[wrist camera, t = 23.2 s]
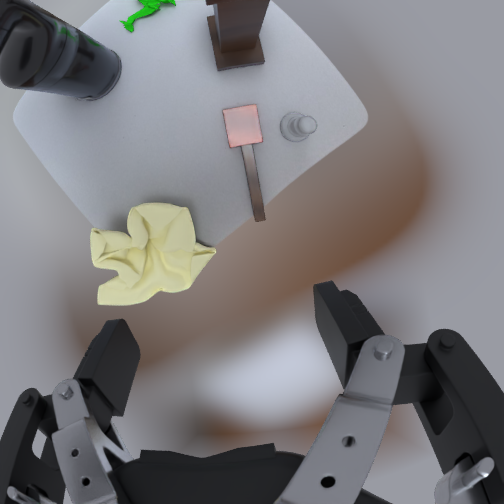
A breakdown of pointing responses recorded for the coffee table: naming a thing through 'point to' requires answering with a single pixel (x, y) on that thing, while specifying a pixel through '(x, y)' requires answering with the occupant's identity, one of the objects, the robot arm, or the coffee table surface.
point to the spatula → (247, 147)
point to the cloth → (149, 254)
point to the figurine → (144, 11)
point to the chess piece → (297, 126)
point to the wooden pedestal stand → (237, 32)
